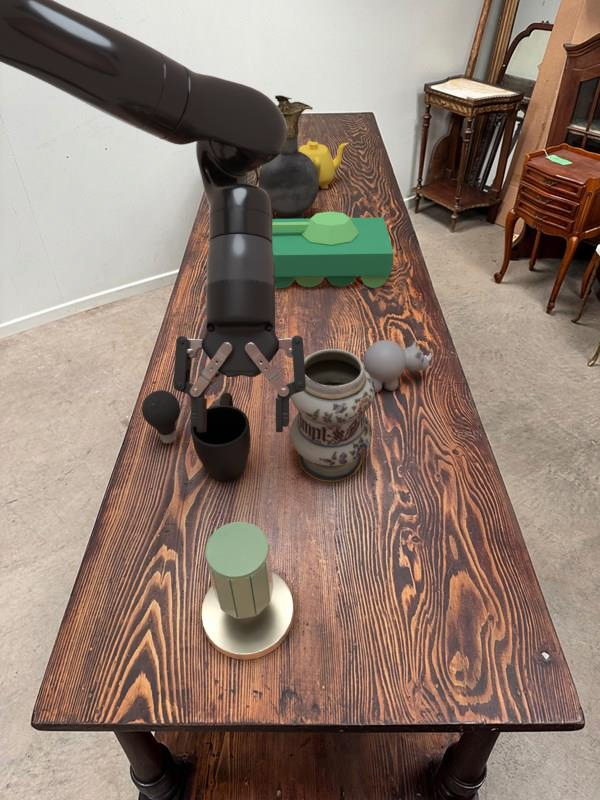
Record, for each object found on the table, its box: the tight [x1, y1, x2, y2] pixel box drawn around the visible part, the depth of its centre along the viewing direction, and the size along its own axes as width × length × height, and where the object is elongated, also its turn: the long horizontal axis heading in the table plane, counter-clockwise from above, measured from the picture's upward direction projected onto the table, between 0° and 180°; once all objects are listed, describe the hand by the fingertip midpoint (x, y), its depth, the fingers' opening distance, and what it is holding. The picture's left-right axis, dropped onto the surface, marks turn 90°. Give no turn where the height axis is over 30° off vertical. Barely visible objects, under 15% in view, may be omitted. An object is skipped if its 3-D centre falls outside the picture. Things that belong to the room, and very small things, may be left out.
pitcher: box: [253, 94, 320, 219], centre depth 135 cm, size 11×19×30 cm, turn 95°
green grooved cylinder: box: [204, 521, 274, 619], centre depth 58 cm, size 6×7×9 cm
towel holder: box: [200, 570, 295, 661], centre depth 60 cm, size 11×11×14 cm
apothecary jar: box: [289, 348, 376, 483], centre depth 77 cm, size 12×12×18 cm
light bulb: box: [141, 389, 181, 444], centre depth 83 cm, size 6×6×10 cm
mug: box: [189, 392, 252, 484], centre depth 80 cm, size 8×12×10 cm
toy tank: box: [273, 210, 394, 289], centre depth 121 cm, size 18×12×35 cm
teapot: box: [298, 140, 349, 190], centre depth 158 cm, size 14×14×12 cm
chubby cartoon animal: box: [363, 339, 433, 393], centre depth 93 cm, size 7×12×8 cm, turn 96°
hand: (240, 432), depth 59 cm, fingers open, 8 cm apart
